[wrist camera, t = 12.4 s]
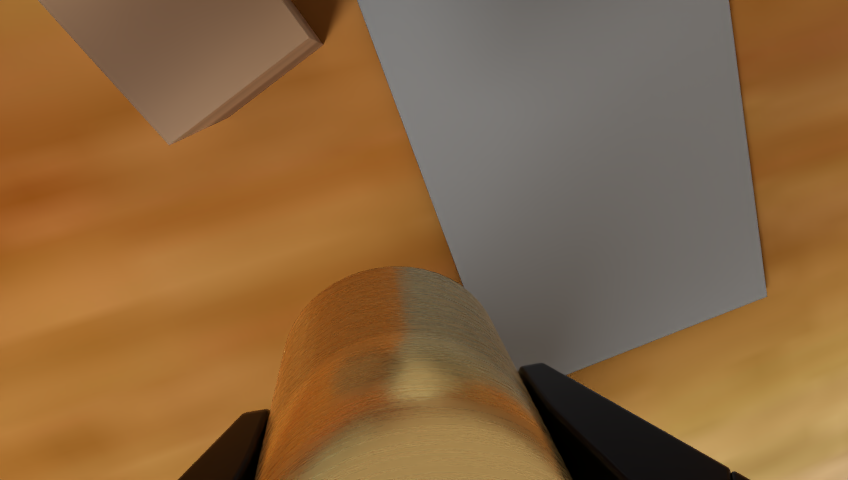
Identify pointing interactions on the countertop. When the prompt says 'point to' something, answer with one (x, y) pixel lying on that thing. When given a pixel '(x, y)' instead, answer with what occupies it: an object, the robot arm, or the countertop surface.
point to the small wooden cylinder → (402, 389)
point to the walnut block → (188, 53)
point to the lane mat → (580, 163)
